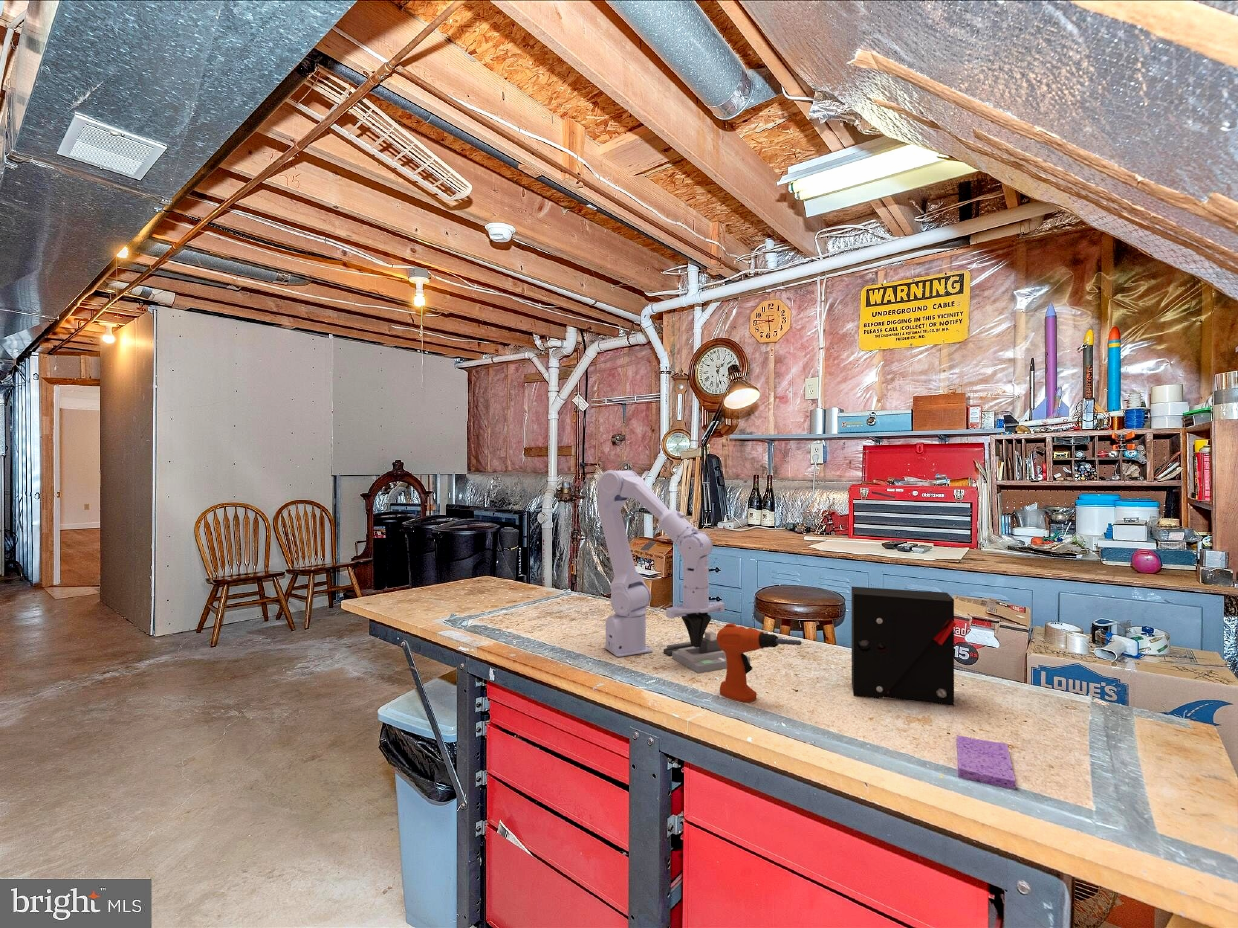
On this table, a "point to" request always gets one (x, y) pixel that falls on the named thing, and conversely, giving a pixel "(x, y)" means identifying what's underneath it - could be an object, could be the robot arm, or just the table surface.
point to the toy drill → (743, 657)
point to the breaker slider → (709, 643)
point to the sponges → (985, 762)
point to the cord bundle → (676, 647)
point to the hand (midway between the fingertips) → (695, 646)
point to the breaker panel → (701, 659)
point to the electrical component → (903, 645)
